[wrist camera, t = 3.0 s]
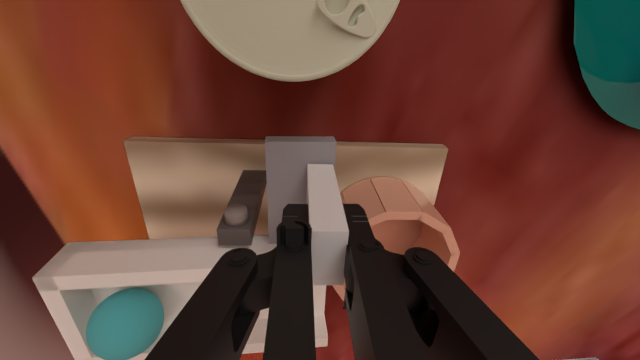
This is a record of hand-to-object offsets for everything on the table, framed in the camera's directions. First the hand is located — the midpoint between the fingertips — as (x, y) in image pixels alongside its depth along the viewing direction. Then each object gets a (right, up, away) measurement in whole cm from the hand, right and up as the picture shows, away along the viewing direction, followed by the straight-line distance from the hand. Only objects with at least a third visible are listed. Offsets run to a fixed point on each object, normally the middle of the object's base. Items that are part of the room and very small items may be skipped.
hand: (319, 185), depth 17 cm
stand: (-3, -3, +12) cm, 12 cm away
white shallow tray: (-8, -4, +2) cm, 9 cm away
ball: (-12, -8, +1) cm, 15 cm away
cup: (+6, -4, +11) cm, 13 cm away
